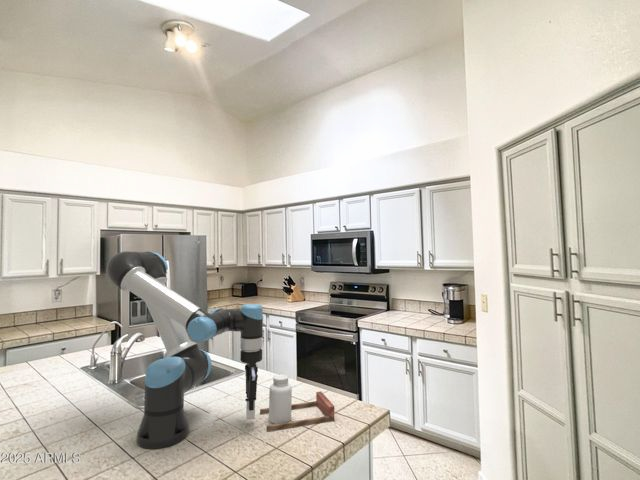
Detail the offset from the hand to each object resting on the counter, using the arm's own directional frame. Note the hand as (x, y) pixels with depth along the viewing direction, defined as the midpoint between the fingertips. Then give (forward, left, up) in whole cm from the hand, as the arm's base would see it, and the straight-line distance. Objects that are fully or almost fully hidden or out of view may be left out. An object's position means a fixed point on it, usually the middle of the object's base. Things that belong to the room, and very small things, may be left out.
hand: (250, 418), depth 117 cm
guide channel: (+16, 0, -2) cm, 17 cm away
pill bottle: (+10, 0, -2) cm, 11 cm away
